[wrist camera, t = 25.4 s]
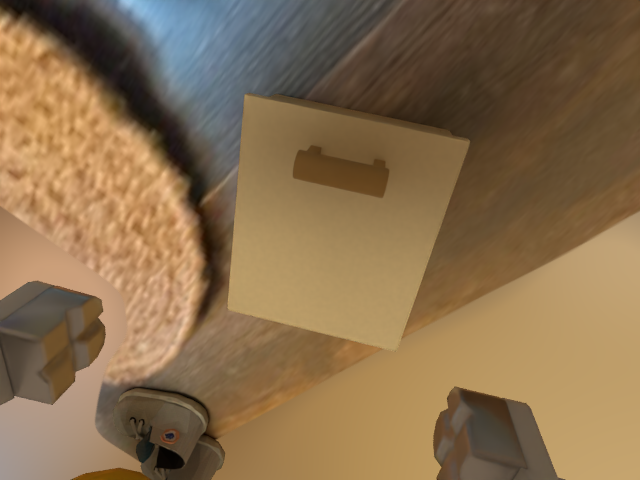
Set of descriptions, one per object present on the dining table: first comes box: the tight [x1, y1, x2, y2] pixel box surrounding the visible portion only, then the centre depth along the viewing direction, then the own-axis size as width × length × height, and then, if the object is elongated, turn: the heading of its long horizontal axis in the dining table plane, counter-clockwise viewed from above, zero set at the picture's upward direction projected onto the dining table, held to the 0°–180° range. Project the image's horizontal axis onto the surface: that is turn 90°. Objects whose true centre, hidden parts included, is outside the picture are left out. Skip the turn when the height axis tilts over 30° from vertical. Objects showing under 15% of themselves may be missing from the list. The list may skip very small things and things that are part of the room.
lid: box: [227, 93, 470, 351], centre depth 25 cm, size 16×14×5 cm
